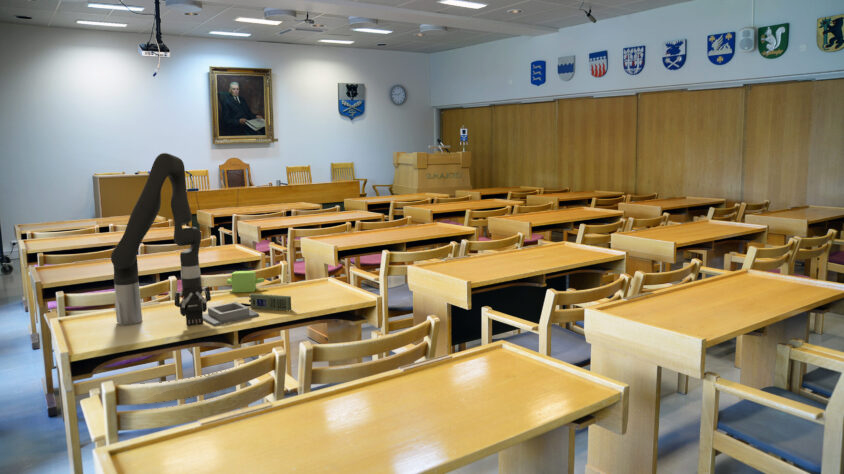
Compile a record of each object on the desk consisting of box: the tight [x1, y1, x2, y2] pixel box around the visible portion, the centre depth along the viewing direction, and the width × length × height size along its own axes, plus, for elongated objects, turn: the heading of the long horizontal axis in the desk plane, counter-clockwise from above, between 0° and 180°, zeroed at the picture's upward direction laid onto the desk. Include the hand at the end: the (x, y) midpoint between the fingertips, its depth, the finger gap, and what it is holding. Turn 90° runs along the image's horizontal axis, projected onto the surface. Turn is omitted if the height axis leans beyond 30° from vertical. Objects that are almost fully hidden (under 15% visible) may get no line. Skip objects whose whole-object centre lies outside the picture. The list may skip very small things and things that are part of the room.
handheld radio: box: [240, 293, 292, 312], centre depth 282 cm, size 7×3×25 cm
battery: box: [184, 298, 204, 326], centre depth 260 cm, size 7×4×11 cm, turn 107°
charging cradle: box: [203, 301, 260, 327], centre depth 270 cm, size 20×16×4 cm
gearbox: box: [226, 270, 265, 293], centre depth 314 cm, size 18×10×10 cm, turn 98°
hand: (194, 313), depth 260 cm, fingers open, 8 cm apart
